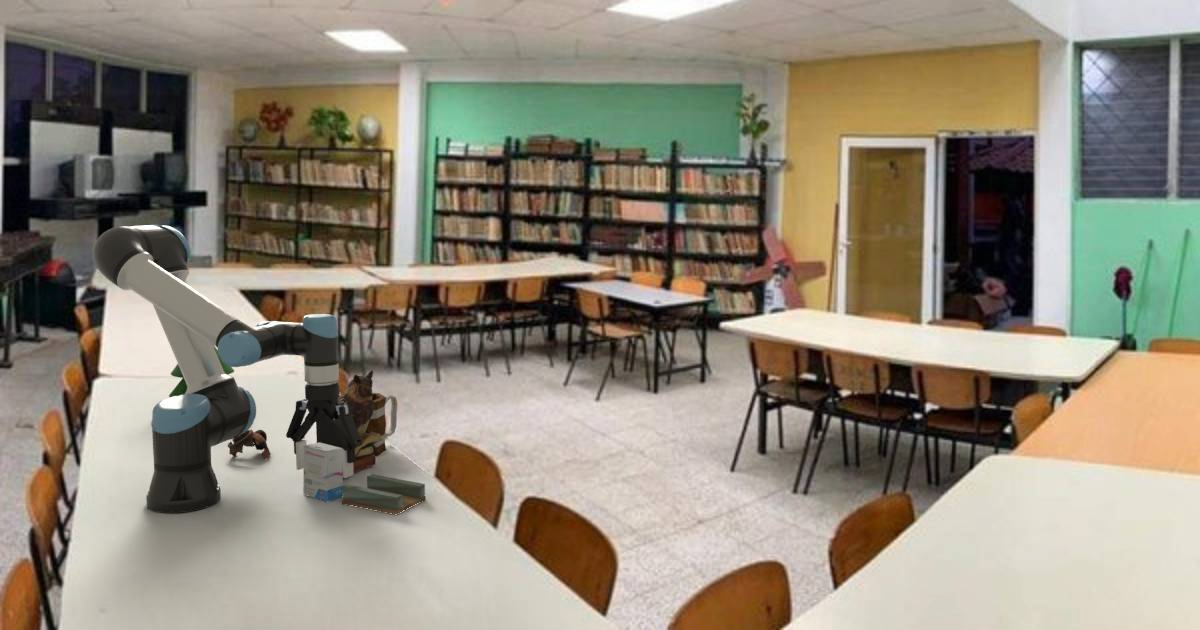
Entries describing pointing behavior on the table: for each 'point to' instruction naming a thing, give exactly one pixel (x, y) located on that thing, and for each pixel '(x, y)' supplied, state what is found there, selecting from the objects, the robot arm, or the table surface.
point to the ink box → (323, 471)
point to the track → (384, 494)
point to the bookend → (355, 421)
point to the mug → (381, 419)
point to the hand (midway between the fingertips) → (324, 472)
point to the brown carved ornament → (250, 442)
